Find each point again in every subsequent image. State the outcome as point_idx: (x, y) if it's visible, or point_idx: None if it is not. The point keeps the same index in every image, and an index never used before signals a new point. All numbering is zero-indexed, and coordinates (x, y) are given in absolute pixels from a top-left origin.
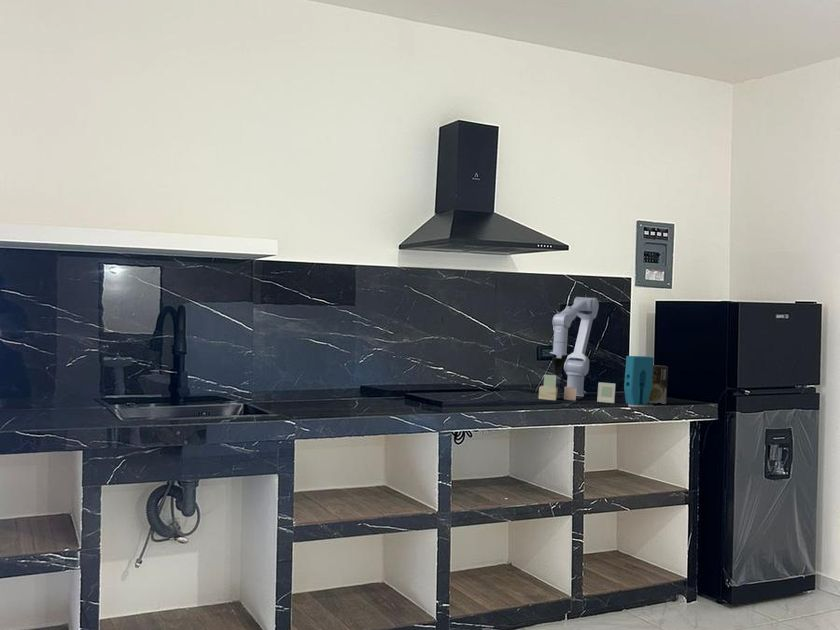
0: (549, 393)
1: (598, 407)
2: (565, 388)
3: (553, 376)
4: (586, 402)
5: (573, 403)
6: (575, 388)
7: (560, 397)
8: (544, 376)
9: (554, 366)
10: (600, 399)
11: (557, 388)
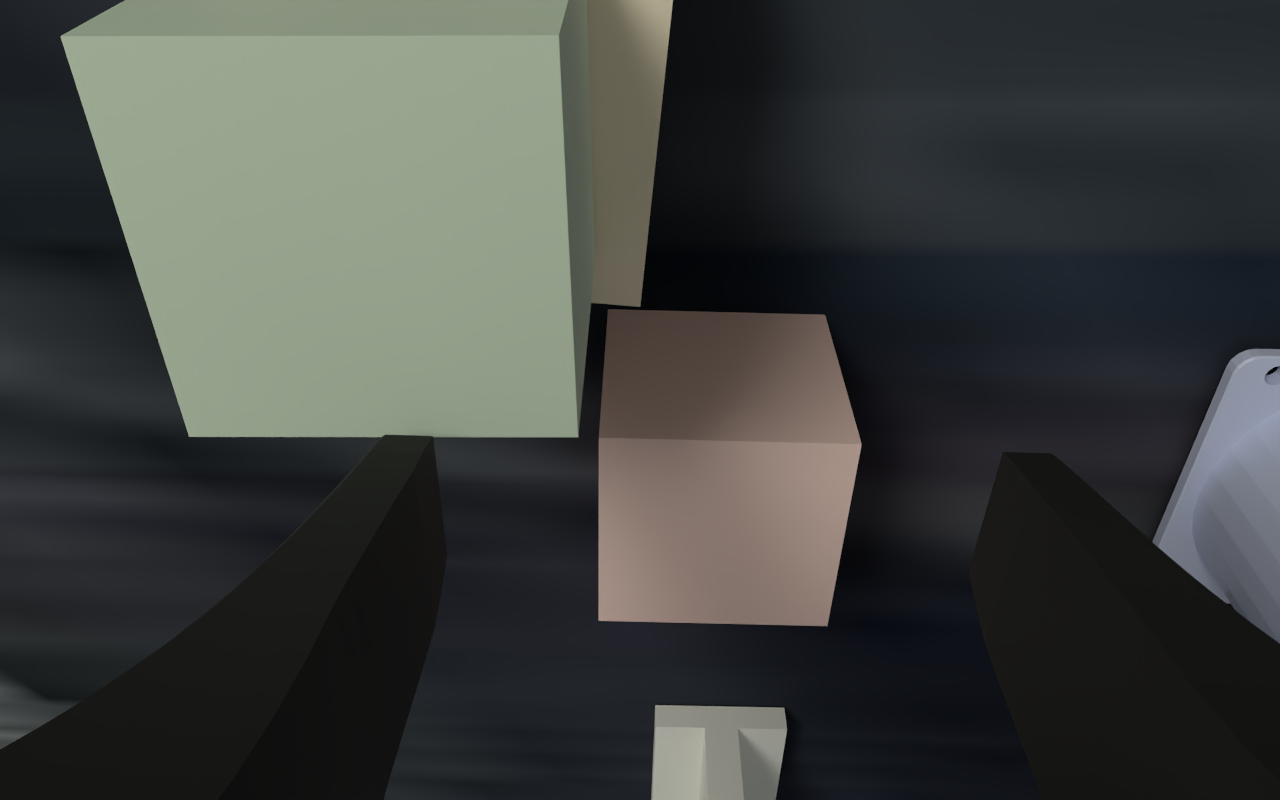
0: None
1: (21, 691)
2: (599, 448)
3: (172, 354)
4: (452, 595)
5: (138, 441)
6: (629, 608)
7: (871, 259)
8: (80, 39)
9: (218, 607)
10: (702, 756)
11: (600, 290)
